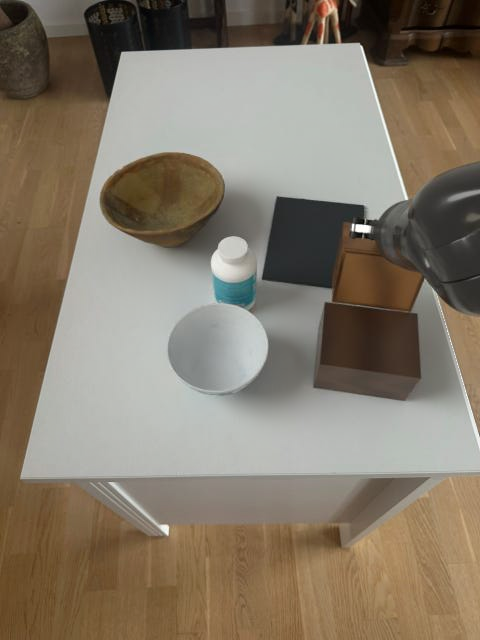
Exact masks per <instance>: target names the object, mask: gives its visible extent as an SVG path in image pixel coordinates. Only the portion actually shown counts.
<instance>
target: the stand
mask: <svg viewBox="0 0 480 640" xmlns="http://www.w3.org/2000/svg"><path fill="white" fill-rule="evenodd" d="M418 314H419V313H415V312H407V311H399V310H391V309H383V308H375V307H367V306H359V305H351V304H343V303H335V302H328V301H325V302H324V304H323V309H322V311H321V316H320V320H319V324H318V329H317V339H316V349H315V361H314V362H315V363H314V374H313V384H312V388H314V389H321V390H328V391H333V392H341V393H348V394H355V395H360V396H367V397H375V398H381V399H390V400H394V401H401V402H402V401H403V402H405V401H406V400H407V398H408V397H409V396H410V395H411V393H412V392H413V390H414V389H415V388H416V387H417V385H418V384H419V382H420V381H421V380H422V370H421V368H422V367H421V352H420V351H421V350H420V333H419V332H420V331H419V315H418Z"/></svg>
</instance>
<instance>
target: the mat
mask: <svg viewBox="0 0 480 640" xmlns="http://www.w3.org/2000/svg"><path fill="white" fill-rule="evenodd" d="M355 217H359V218H361V219H365V205H364V204H356V203H347V202H338V201H337V202H336V201H328V200H319V199H308V198H299V197H298V198H297V197H289V196H278V195H277V196H276V200H275V204H274V210H273V215H272V221H271V225H270V231H269V237H268V242H267V248H266V253H265V259H264V264H263V270H262V275H261V280H263V281H269V282H277V283H285V284H286V283H287V284H293V285H294V284H295V285H302V286H310V287H317V288H325V289H326V288H327V289H332V277H333V270H334V265H335V260H336V256H337V251H338V246H339V242H340V237H341V232H342V227H343V223H344V222H348V223H351V219H352V218H355Z"/></svg>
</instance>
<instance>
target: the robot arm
mask: <svg viewBox="0 0 480 640" xmlns="http://www.w3.org/2000/svg"><path fill="white" fill-rule="evenodd" d="M351 223H352V224H351V225H350V232H349V237H352V238H351V239H355V238H362V239H371V240H374V239H375V243H376V246H377V248H378V250H379V252H380V253H381V255H382V256H383V257H384V258H385V259H386V260H387V261H389V262H391V263H393V264H395V265H397V266H399V267H401V268H404V269H406V270H409V271H413V272H419V273H421V274H422V275H423V276H424V278H425V279H424V280H426V282H427V283H428V285H429V286H430V287H431V288H432V290H434V292H435V293H436V294H437V296H438V297H439V298H440V299H441V300H442V301H443V302H444V303H445V304H446V305H447V306H449V307H450V308H451V309H453V310H454V311H456V312H458V313H461V314H464V315H467V316H471V317H475V318H480V160H479V161H475V162H470V163H467V164H464V165H460V166H456V167H453V168H451V169H448V170H446V171H443V172H441V173H439V174H438V175H436V176H435V177H433V178H431V179H430V180H428V181H427V182H426V183H425V184H423V186H421V188H420V189H419V190H418V191H417V193H416V194H415V195H414V197H413V198H409V199H405V200H401V201H398V202H396V203H394V204H392V205H390V206H389V207H388V208H386V209H385V210H384V212H383V213H382V214H381V215H380V217H379V218H378V219H368V218H364V219H361V218H359V217H355V218H352V219H351Z"/></svg>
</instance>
